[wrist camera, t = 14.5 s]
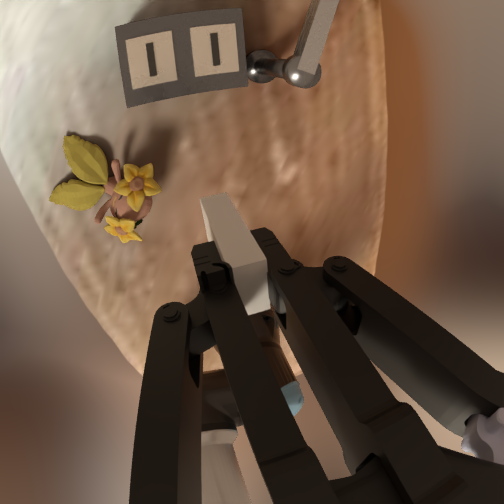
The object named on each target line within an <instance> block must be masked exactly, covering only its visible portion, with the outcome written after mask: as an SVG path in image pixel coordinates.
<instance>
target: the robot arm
mask: <svg viewBox="0 0 504 504" xmlns="http://www.w3.org/2000/svg"><path fill="white" fill-rule="evenodd" d="M200 202H201V207H202V212H203V217H204V222H205V227H206V232H207V237H208V241H209V242H206V243H202V244H198V245H194V246H193V249H192V252H191V255H192V258H193V262H194V266H195V270H196V274H197V278H198V281H199V285H200V291H199V294H198V295H197V297H196V298H195V299H194V300H192V301H191V302H189V303H188V304H186V305H184V304H182V303H180V302H170V303H166V304H165V305H163V306H161V307H160V308H159V309H158V310H157V311H156V313H155V315H154V320H153V325H152V330H151V335H150V340H149V346H148V351H147V357H146V363H145V368H144V374H143V381H142V387H141V394H140V400H139V407H138V415H137V423H136V431H135V440H134V449H133V458H132V469H131V483H130V497H129V504H252V502H251V499H250V497H249V493H248V491H247V488H246V485H245V482H244V479H243V476H242V473H241V470H240V467H239V464H238V461H237V457H236V455H235V451H234V448H233V443H234V441H235V439H236V438H237V436H238V432H237V428H236V427H237V426H241V425H243V426H244V428H245V431H246V434H247V437H248V439H249V442H250V445H251V448H252V450H253V453H254V455H255V458H256V461H257V463H258V466H259V469H260V471H261V474H262V477H263V479H264V481H265V484H266V487H267V489H268V491H269V494H270V497H271V499H272V502H273V504H504V373H502V372H499V371H497V370H495V369H494V368H493V367H492V366H491V365H489V364H488V363H487V362H486V361H485V360H483V359H482V358H481V357H479V356H478V355H477V354H476V353H475V352H473V351H472V350H471V349H470V348H468V347H467V346H466V345H465V344H463V343H462V342H461V341H459V340H458V339H457V338H456V337H455V336H453V335H452V334H451V333H449V332H448V331H447V330H446V329H444V328H443V327H442V326H440V325H439V324H438V323H437V322H435V321H434V320H433V319H431V318H430V317H429V316H427V315H426V314H425V313H423V312H422V311H421V310H419V309H418V308H417V307H415V306H414V305H413V304H411V303H410V302H409V301H407V300H406V299H405V298H403V297H402V296H401V295H399V294H398V293H397V292H395V291H394V290H392V289H391V288H390V287H388V286H387V285H385V284H384V283H383V282H381V281H380V280H379V279H377V278H376V277H374V276H373V275H372V274H370V273H369V272H367V271H366V270H365V269H363V268H362V267H360V266H359V265H357V264H356V263H355V262H353V261H352V260H350V259H348V258H346V257H342V256H333V257H330V258H328V259H326V260H325V261H324V264H323V267H304V266H303V264H302V263H300V262H299V261H297V260H294V259H291V257H290V256H289V255H288V253H287V252H286V250H285V249H284V248H283V246H282V245H281V243H280V242H279V241H278V239H276V236H275V235H274V234H273V232H272V231H270V230H268V229H267V228H265V227H263V228H259V229H255V230H251V231H250V230H249V229H248V227H247V225H246V224H245V222H244V221H243V219H242V217H241V216H240V214H239V212H238V211H237V209H236V207H235V206H234V204H233V202H232V201H231V199H230V197H229V196H228V194H227V193H226V192H225V193H220V194H216V195H212V196H207V197H203V198H200ZM270 301H271V303H272V305H273V307H274V313H273V312H272V311H271V310H270ZM279 326H280V328H281V330H282V332H283V334H284V336H285V338H286V340H287V342H288V344H289V346H290V348H291V350H292V352H293V354H294V356H295V358H296V360H297V362H298V364H299V366H300V368H301V370H302V372H303V373H304V375H305V377H306V379H307V381H308V383H309V385H310V387H311V389H312V391H313V393H314V395H315V397H316V399H317V401H318V402H319V404H320V406H321V408H322V410H323V412H324V414H325V416H326V418H327V420H328V422H329V424H330V426H331V428H332V429H333V432H334V433H335V435H336V437H337V439H338V441H339V443H340V445H341V447H342V450H343V456H344V460H345V463H346V465H347V467H348V469H349V471H350V473H351V475H352V476H349V477H345V478H340V479H335V480H330V481H329V480H328V479H327V477H326V474H325V472H324V470H323V468H322V466H321V464H320V462H319V460H318V458H317V457H316V455H315V453H314V452H313V450H312V449H311V448H310V447H309V446H308V445H307V444H306V442H305V440H304V438H303V436H302V434H301V432H300V429H299V427H298V425H297V423H296V421H295V419H294V417H293V416H294V415H295V414H296V413H298V411H299V410H300V409H301V407H302V405H303V403H304V397H303V394H302V391H301V389H300V386H299V382H298V381H297V379H296V377H295V375H294V373H293V371H292V369H291V367H290V365H289V363H288V361H287V359H286V357H285V355H284V353H283V351H282V348H281V346H280V336H279ZM213 346H214V348H215V350H216V351H217V352H218V354H219V355H220V357H221V360H222V363H223V366H224V369H218V370H212V371H205V372H203V352H205V351H206V350H208V349H210V348H211V347H213ZM370 360H371V361H372V362H373V363H374V364H375V365H376V366H377V367H378V368H380V369H381V370H382V371H383V372H384V373H385V374H386V375H387V376H388V377H389V378H390V379H391V380H393V381H394V382H395V383H396V384H397V385H398V386H399V387H400V388H401V389H402V390H403V391H405V392H406V393H407V394H408V395H409V396H410V397H411V398H412V399H413V400H415V401H416V402H417V403H418V404H419V405H420V406H421V407H422V408H423V409H424V410H425V411H427V412H428V413H429V414H430V415H431V416H432V417H433V418H434V419H435V420H436V421H438V422H439V423H440V424H441V425H443V426H444V427H445V428H446V429H448V430H450V431H451V432H453V433H454V434H457V435H459V436H461V437H463V440H462V443H461V447H462V449H463V450H464V451H465V452H472V453H473V454H474V455H475V456H476V457H473V456H469V455H466V454H463V453H459V452H456V451H453V450H450V449H447V448H444V447H441V446H438V445H437V443H436V442H435V440H434V439H433V437H432V436H431V434H430V433H429V431H428V429H427V428H426V426H425V425H424V423H423V422H422V420H421V419H420V417H419V416H418V414H417V413H416V411H415V410H414V409H413V408H412V406H411V405H409V404H408V403H405V402H399V401H398V400H397V399H396V398H395V397H394V396H393V394H392V393H391V391H390V389H389V388H388V387H387V385H386V383H385V382H384V381H383V379H382V378H381V376H380V374H379V373H378V371H377V370H376V369H375V367H374V366H373V364H372V363H371V361H370Z"/></svg>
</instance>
